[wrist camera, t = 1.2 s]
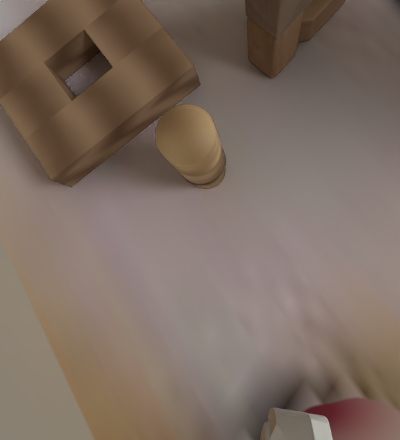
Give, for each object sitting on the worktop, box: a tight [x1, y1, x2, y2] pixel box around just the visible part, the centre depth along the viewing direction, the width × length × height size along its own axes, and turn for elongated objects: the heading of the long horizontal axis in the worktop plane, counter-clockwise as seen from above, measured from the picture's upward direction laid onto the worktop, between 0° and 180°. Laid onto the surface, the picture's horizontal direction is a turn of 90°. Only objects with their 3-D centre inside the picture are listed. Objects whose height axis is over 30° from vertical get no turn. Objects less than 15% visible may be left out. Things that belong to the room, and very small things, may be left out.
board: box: [0, 0, 200, 187], centre depth 38 cm, size 18×16×4 cm
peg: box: [155, 104, 226, 189], centre depth 31 cm, size 4×4×12 cm
